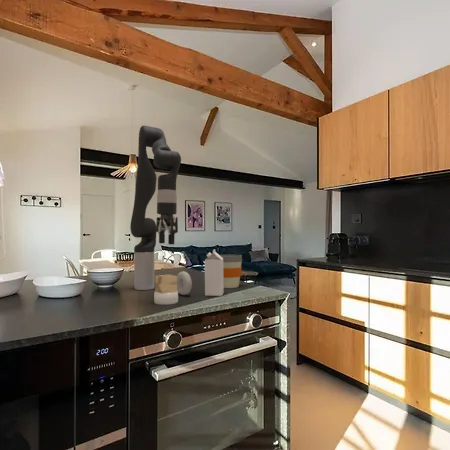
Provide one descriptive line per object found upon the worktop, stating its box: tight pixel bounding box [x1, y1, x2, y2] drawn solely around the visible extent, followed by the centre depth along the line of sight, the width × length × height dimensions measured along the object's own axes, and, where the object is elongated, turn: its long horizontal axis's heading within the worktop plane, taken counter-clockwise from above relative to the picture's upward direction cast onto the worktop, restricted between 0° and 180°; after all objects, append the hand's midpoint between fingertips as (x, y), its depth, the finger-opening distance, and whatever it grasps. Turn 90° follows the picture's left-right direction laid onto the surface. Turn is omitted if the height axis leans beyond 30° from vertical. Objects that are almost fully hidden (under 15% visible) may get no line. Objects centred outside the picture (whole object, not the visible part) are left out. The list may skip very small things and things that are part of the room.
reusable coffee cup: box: [219, 253, 243, 289], centre depth 164 cm, size 13×13×15 cm
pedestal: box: [153, 290, 179, 305], centre depth 130 cm, size 9×9×4 cm
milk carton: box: [204, 249, 225, 297], centre depth 145 cm, size 7×7×19 cm
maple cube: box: [155, 274, 177, 294], centre depth 130 cm, size 6×6×6 cm
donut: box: [176, 270, 193, 296], centre depth 144 cm, size 10×4×10 cm, turn 39°
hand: (166, 243), depth 132 cm, fingers open, 8 cm apart
